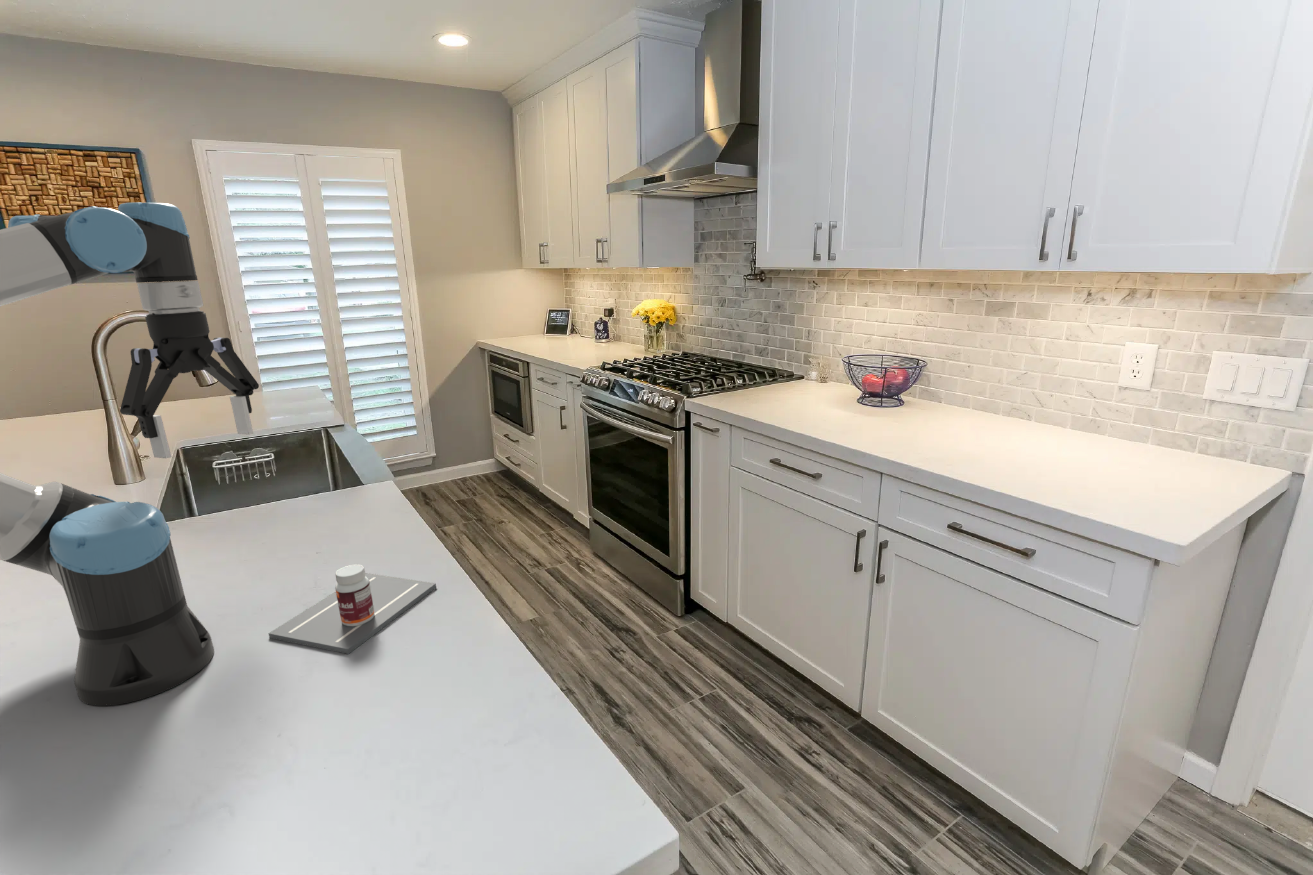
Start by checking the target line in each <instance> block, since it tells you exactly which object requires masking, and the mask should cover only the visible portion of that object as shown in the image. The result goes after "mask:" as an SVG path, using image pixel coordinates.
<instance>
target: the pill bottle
mask: <svg viewBox="0 0 1313 875" xmlns="http://www.w3.org/2000/svg"><path fill="white" fill-rule="evenodd" d="M365 573H366V570H365V567H364V565H362V564H358V563H357V564H355V563H354V564H349V565H346V566H342V567H341V568H339V569H337V570H336V571H335V581H336V584H335V588H334V589H335V592H336V595H337V601H338V606H339V612H340V617H341V622H342V624H344V625H345V626H358V625H362V624H364V623H366V622H368V621H370V620H371V619H372V618H373V617H374V607H373V601H372V595H371V589H370V582H369V579H368V578H367V577H366V576H365Z"/></svg>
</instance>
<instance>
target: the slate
mask: <svg viewBox="0 0 1313 875" xmlns="http://www.w3.org/2000/svg"><path fill="white" fill-rule="evenodd" d="M365 576H366V577H367V578H368V579H369V582H370V589H371V595H372V601H373V607H374V617H373V618H372V619H371V620H370V621H368V622H366V623H364V624H362V625H358V626H345V625H344V624H342V622H341V617H340V612H339V606H338V601H337V595H336V591H334V592H333V593H331V594H329V595H328V596H326V597H324V598H323V599H322V600H321V599H320V600H319V601H318V602H317V603H315V604H313V605H312V606H309V607H308V608H307V609H305V610H303V611H302V612H301V613H298V614H297V615H295V616H294V617H293V618H290V620H287V621H286V622H284V623H283V624H281V625H279V626H278V627H276V628H275V629H273V630H271V631H270V632H269V633H268V638H269V639H272V640H278V641H283V642H289V643H293V644H298V645H303V646H307V647H312V648H316V649H317V648H318V649H323V650H326V651H331V652H338V653H342V654H347V655H348V654H350V653H352V652H353V651H355V650H356V649H357V648H358V647H360V646H361V645H363V644H364V643H365V642H366V641H368V640H370V638H372V637H374V635H376V634H377V633H379V631H381V630H383V629H384V628H385V627H386V626H388V625H389V624H391V623H392V622H393V621H394V620H395V619H397V618H399V616H401V615H402V614H403V613H405V612H406V611H407V610H408V609H410V608H412V607H413V606H414V605H416V603H419V601H421V600H422V599H423V598H425V597H426V596H427V595H429V594H430V593H431V592H433V591H434V590H435V589H436V588H437V584H436V582H430V581H422V580H415V579H408V578H401V577H396V576H390V575H384V574H376V573H375V574H374V573H371V572H365Z"/></svg>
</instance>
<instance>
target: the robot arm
mask: <svg viewBox="0 0 1313 875" xmlns="http://www.w3.org/2000/svg"><path fill="white" fill-rule="evenodd" d="M7 223H8V224H7V227H5V228H2V229H0V307H3V306H6V305H9V304H10V305H11V304H13V303H16V302H18V301H19V302H20V301H23V300H25V299H28V298H32V297H35V296H38V295H42V294H44V293H47V292H51V291H54V290H57V289H61V288H64V287H68V286H70V285H73V284H79V283H83V282H86V281H88V280H91V279H94V278H95V279H96V278H98V277H101V276H104V275H108V274H119V273H128V272H133V274H134V275H133V276H134V278H135V282H136V285H137V289H138V295H139V299H140V303H141V308H142V310H143V311H145V312H146V311H147V312H148V314H146V316H145V317H144V318H145V322H146V326H147V330H148V335H149V337H150V339H151V340H152V343H153V344H152V345H153V346H152V348H145V347H143V348H139V347H138V348H137V347H136V348H135V347H134V348H132V349H130V357H131V358H130V359H131V367H130V370H129V374H128V378H127V383H126V386H125V390H124V394H123V397H122V401H121V403H120V404H121V405H120V408H119V412H120V414H121V415H123V416H133V417H136V418H137V420H138V423H139V426H140V430H141V433H142V436H143V437H144V439H149V443H150V448H151V450H152V454H153V457H154V458H159V459H170V458H172V454H171V450H170V446H169V442H168V439H167V434H166V430H165V426H164V421H163V418H162V415H160V414H155V413H157V412H156V411H157V410H158V409H159V406H160V404H161V402H162V401H163V398H164V397H165V395H166V393H167V391H168V389H169V388H170V386H171V384H172V383H173V381H174V379H175V378H177V377H178V375H179V374H187V373H191V372H192V371H196V372H199V371H205V372H206V373H208V374H209V375H210V376H211V377H212V378H214V379H215V380H217V381H218V382H219V383H220V384H221V385H223V386H224V387H225V388H227V389H228V390H229V391H230V392H232V393H233V394H234V395H232V396H229V399H230V404H231V410H232V413H233V418H234V423H235V427H236V431H237V434H239V435H254V430H253V426H252V421H251V417H250V414H252V412H253V408H252V404H251V399H250V396H252V395H253V394H254V390H257V389H258V388H259V382H258V381H257V380H256V379H255V377H254V376H253V375H252V373H251V372H250V371H249V369H248V368H247V366H246V365H245V364H244V362H243V361H242V360H241V359H240V357H239V356H238V354H237V353H236V352H235V350H234V346H233V344H232V341H231V339H230V338H228V337H214V338H213V339H212V340H211V339H210V337H209V335H210V326H209V322H208V318H207V314H206V312H204V310H201V309H200V308H202V307H203V306H204V302H203V301H204V300H203V297H202V293H201V288H200V282H199V279H198V276H197V272H196V267H195V262H194V255H193V252H192V246H191V242H190V234H189V232H188V228H187V226H186V225H187V224H186V221H185V218H184V217H183V213H182V211H181V209H180V208H179V207H178V206H176V205H174V204H171V203H164V202H137V201H136V202H123V203H121V204H119V205H118V208H117V210H116V209H113V208H108V207H102V206H101V207H100V206H99V207H98V206H88V207H83V208H79V209H77V210H74V211H71V212H66V213H63V214H58V215H44V214H43V215H42V214H37V213H36V214H34V215H15V216H14V215H13V216H12V217H11V218H10V219H9V220H8V222H7ZM213 352H216V353H217V355H218V357H219V358H220V360H221V361H222V362H223V363H224V366H226V367H227V369H228V370H229V371H228V370H227V369H226V368H224V367H223V366H222V365H221V363H220V362H219V361H218V360H217V359H216V358H214V357H213V356H212V353H213ZM155 359H156V360H157V361H159V363H158V365H157V366H156V369H155V370H154V375H153V378H152V379H151V381H150V382H149V380H150V379H149V378H150V375H151V371H152V366H153V365H152V364H153V362H154V361H155ZM148 383H149V385H148ZM259 389H260V388H259ZM0 561H2V562H6V563H9V564H12V565H16V566H19V567H23V568H26V569H30V570H33V571H37V572H40V573H43V574H47V575H50V576H52V577H53V578H54V580H55V581H57V583H59V585H60V586H62V589H63V590H64V593H65V596H66V599H67V602H68V605H69V608H70V611H71V616H72V618H73V621H74V625H75V627H76V631H77V634H78V637H79V638H78V639H79V644H78V651H77V658H76V666H75V673H74V680H73V681H74V686H75V690H76V693H77V696H78V699H79V700H80V701H81V702H82V703H84V704H87V705H90V706H99V707H107V706H118V705H124V704H129V703H133V702H137V701H141V700H143V699H147V698H150V697H153V696H155V695H158V694H160V693H163V692H165V691H168V690H170V689H172V688H175V687H176V686H178V685H180V684H183V683H184V682H186V681H187V680H188V679H189V680H190V678H192V677H193V676H195V675H196V674H198V673H199V672H200V671H202V670H203V669H204V668H205V667H206V666H207V665H208V664H209V663H210V661H211V660H212V658H213V657H214V654H215V648H214V647H215V646H214V644H213V641H212V640H213V639H212V637H211V634H210V633H209V631H208V630H207V628H205V626H204V625H203V624H202V622H201V621H200V620H199V618H198V617H197V616H196V615H195V614H194V612H193V611H192V610H191V608H190V607H189V606H188V603H187V600H186V599H187V598H186V596H185V592H184V587H183V583H182V578H181V576H180V572H179V568H178V564H177V558H176V556H175V552H174V547H173V544H172V540H171V530H170V527H169V524H168V523H167V522H166V520H165V516H164V514H163V512H162V511H161V510H160V509H159V508H158V507H156V506H154V505H152V504H151V503H150V504H149V503H146V502H141V501H133V502H130V501H127V500H126V501H115V500H114V499H111V498H110V497H106V496H103V495H95V494H93V493H88V492H85V491H83V490H80V489H77V488H74V487H72V486H68V485H67V484H64V483H61V482H59V481H52V482H48V483H44V484H39V485H37V484H36V485H35V484H32V483H28V482H26V481H23V480H21V479H17V478H15V477H12V476H9V475H7V474H4V473H2V472H0Z"/></svg>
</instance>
